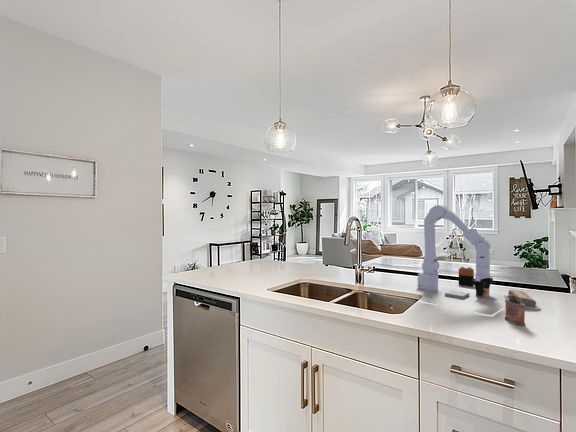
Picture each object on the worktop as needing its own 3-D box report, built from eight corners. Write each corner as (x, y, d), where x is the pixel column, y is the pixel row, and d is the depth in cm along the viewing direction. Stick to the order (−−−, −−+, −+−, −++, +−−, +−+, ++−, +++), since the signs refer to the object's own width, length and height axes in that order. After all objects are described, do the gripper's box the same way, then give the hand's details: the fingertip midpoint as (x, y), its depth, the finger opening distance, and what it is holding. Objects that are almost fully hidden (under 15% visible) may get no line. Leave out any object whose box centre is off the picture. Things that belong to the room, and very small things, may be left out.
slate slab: (444, 296, 157) (444, 293, 157) (451, 293, 163) (451, 290, 163) (462, 299, 151) (462, 296, 151) (469, 296, 157) (469, 293, 157)
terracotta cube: (475, 297, 157) (475, 288, 157) (479, 296, 160) (479, 286, 160) (486, 299, 154) (486, 290, 154) (489, 297, 157) (489, 288, 157)
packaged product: (503, 288, 157) (529, 290, 153) (503, 298, 157) (528, 301, 153) (512, 297, 140) (541, 300, 136) (512, 309, 140) (541, 311, 136)
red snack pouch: (502, 318, 126) (502, 292, 126) (510, 318, 126) (511, 292, 126) (518, 326, 118) (519, 298, 118) (527, 326, 118) (528, 298, 118)
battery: (472, 286, 179) (472, 268, 179) (458, 285, 184) (458, 267, 183) (473, 285, 183) (474, 267, 182) (460, 283, 187) (460, 266, 187)
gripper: (487, 268, 149) (486, 298, 149) (497, 264, 159) (497, 293, 159) (470, 266, 154) (469, 295, 154) (481, 263, 164) (480, 290, 164)
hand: (482, 294), depth 157 cm, fingers open, 7 cm apart
